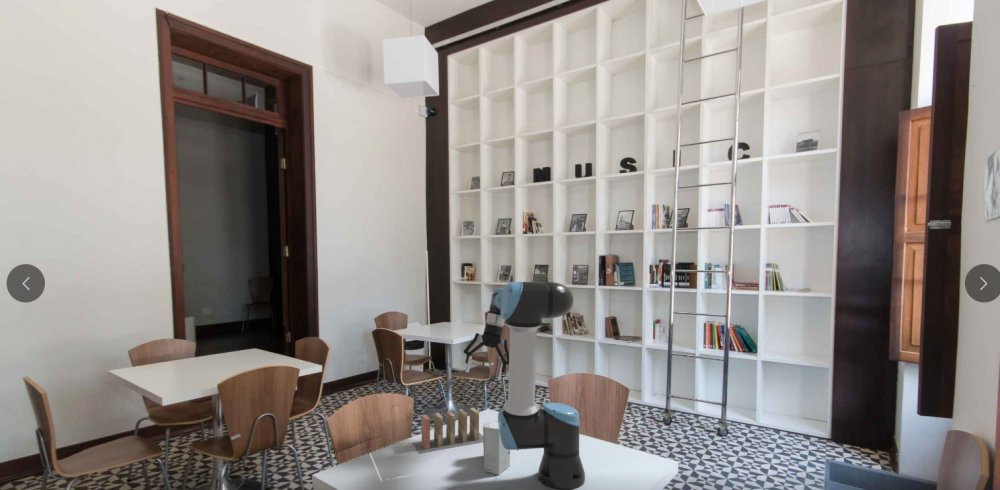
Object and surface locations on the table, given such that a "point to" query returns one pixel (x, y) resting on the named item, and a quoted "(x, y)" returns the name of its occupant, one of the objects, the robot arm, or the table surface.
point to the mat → (446, 444)
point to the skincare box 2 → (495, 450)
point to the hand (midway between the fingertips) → (482, 376)
